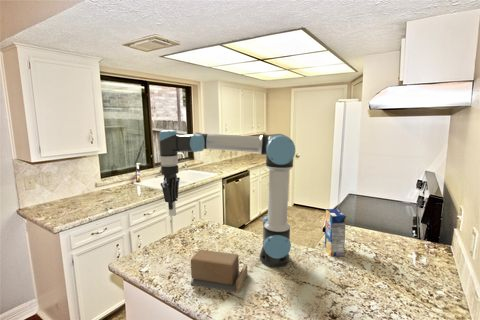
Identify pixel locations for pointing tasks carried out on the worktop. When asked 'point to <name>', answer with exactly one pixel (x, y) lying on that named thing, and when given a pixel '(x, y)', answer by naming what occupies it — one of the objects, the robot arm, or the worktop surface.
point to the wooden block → (215, 267)
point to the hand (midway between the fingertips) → (172, 215)
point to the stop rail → (241, 278)
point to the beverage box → (335, 232)
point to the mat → (216, 285)
